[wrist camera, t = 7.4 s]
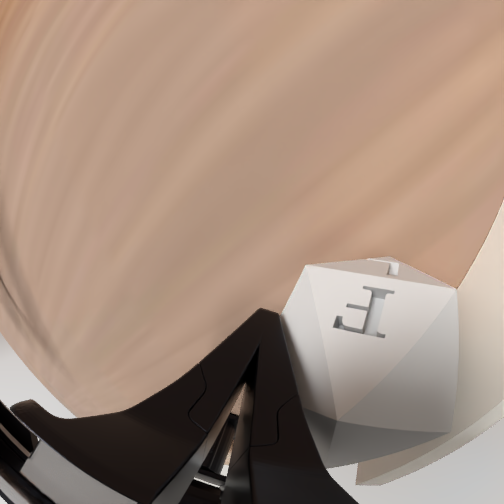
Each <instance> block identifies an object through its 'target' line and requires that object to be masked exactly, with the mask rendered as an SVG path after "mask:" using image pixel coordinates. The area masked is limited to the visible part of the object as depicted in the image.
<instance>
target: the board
mask: <svg viewBox="0 0 504 504" xmlns="http://www.w3.org/2000/svg"><path fill="white" fill-rule="evenodd" d="M457 301H458V319H459V362H458V379H457V391H456V400H455V408H454V415H453V421H452V427H451V432H450V433H448V434H445V435H443V436H441V437H438V438H436V439H433V440H431V441H428V442H426V443H423V444H420V445H418V446H415V447H412V448H409V449H406V450H403V451H400V452H397V453H393V454H390V455H387V456H383V457H379V458H376V459H372V460H368V461H363V462H359V463H358V469H357V478H356V485H382V484H385V483H388V482H391V481H393V480H395V479H398V478H401V477H403V476H405V475H408V474H410V473H412V472H414V471H417V470H419V469H421V468H423V467H425V466H427V465H429V464H431V463H433V462H435V461H437V460H439V459H441V458H443V457H445V456H446V455H448V454H450V453H452V452H453V451H455V450H457V449H459V448H460V447H462V446H464V445H465V444H466V443H468V442H470V441H471V440H473V439H474V438H476V437H477V436H479V435H480V434H482V433H483V432H485V431H486V430H487V429H489V428H490V427H492V426H493V425H494V424H496V423H497V422H498V421H500V420H501V419H502V418H504V200H503V202H502V205H501V207H500V209H499V212H498V214H497V216H496V219H495V221H494V223H493V225H492V227H491V229H490V232H489V234H488V236H487V238H486V240H485V242H484V244H483V246H482V248H481V249H480V251H479V253H478V255H477V257H476V259H475V260H474V262H473V264H472V266H471V267H470V269H469V271H468V273H467V274H466V276H465V278H464V279H463V281H462V282H461V284H460V286H459V287H458V289H457Z"/></svg>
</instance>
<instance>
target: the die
mask: <svg viewBox="0 0 504 504" xmlns="http://www.w3.org/2000/svg"><path fill="white" fill-rule="evenodd" d="M280 320H281V323H282V327H283V331H284V335H285V339H286V343H287V347H288V351H289V355H290V359H291V363H292V367H293V371H294V376H295V380H296V384H297V388H298V392H299V393H298V394H299V395H300V400H301V404H302V407H303V411H304V414H305V418H306V421H307V423H308V426H309V429H310V432H311V434H312V437H313V439H314V442H315V444H316V447H317V449H318V452H319V454H320V457H321V459H322V462H323V464H324V466H325V468H326V469H327V468H333V467H339V466H344V465H349V464H354V463H359V462H363V461H368V460H372V459H376V458H379V457H383V456H387V455H390V454H393V453H397V452H400V451H403V450H406V449H409V448H412V447H415V446H418V445H420V444H423V443H426V442H428V441H431V440H433V439H436V438H438V437H441V436H443V435H445V434H448V433H450V432H451V427H452V421H453V415H454V408H455V400H456V391H457V379H458V362H459V319H458V301H457V290H456V289H455V288H454V287H452V286H450V285H448V284H446V283H444V282H442V281H440V280H438V279H436V278H434V277H432V276H430V275H428V274H426V273H424V272H421V271H419V270H417V269H415V268H413V267H411V266H409V265H407V264H405V263H403V262H401V261H398V260H396V259H394V258H392V257H390V256H388V257H379V258H370V259H360V260H350V261H340V262H330V263H319V264H309V265H305V267H304V270H303V272H302V274H301V276H300V278H299V280H298V282H297V284H296V286H295V288H294V290H293V292H292V294H291V296H290V298H289V300H288V302H287V304H286V306H285V308H284V310H283V312H282V314H281V315H280Z"/></svg>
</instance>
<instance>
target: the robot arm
mask: <svg viewBox="0 0 504 504" xmlns="http://www.w3.org/2000/svg"><path fill="white" fill-rule="evenodd" d="M245 382H246V384H245ZM244 384H245V389H244V394H243V399H242V404H241V409H240V414H239V417H238V416H235V415H232V414H230V412H231V410H232V408H233V406H234V404H235V402H236V400H237V398H238V396H239V394H240V392H241V390H242V388H243V386H244ZM298 393H299V392H298V388H297V384H296V380H295V376H294V371H293V367H292V363H291V359H290V355H289V351H288V347H287V343H286V339H285V335H284V331H283V327H282V323H281V320H280V316H279V314H278V313H276V312H272V311H269V310H266V309H263V308H259V309H258V310H257V311H256V312H255V313H254V314H253V315H251V316H250V317H249V318H248V319H247V320H246V321H245V322H244V323H243V324H242V325H241V326H239V327H238V328H237V329H236V330H235V331H234V332H233V333H232V334H231V335H230V336H228V337H227V338H226V339H225V340H224V341H223V342H222V343H221V344H219V345H218V346H217V347H216V348H215V349H214V350H213V351H212V352H210V353H209V354H208V355H207V356H206V357H205V358H204V359H202V360H201V361H200V362H199V364H196V365H195V366H194V367H193V368H192V369H191V370H189V371H188V372H187V373H186V374H184V375H183V376H182V377H180V378H179V379H178V380H176V381H175V382H173V383H172V384H170V385H169V386H167V387H166V388H164V389H162V390H161V391H159V392H157V393H156V394H154V395H152V396H151V397H149V398H147V399H146V400H144V401H142V402H140V403H139V404H137V405H135V406H133V407H131V408H129V409H126V410H124V411H120V412H116V413H110V414H104V415H97V416H90V417H82V418H74V419H64V418H59V417H55V416H53V415H52V414H50V413H49V412H47V411H46V410H45V409H44V408H43V407H41V406H40V405H39V404H38V403H36V402H35V401H34V400H31V399H30V400H26V401H22V402H19V403H16V404H14V405H13V406H11V407H10V410H11V411H12V412H13V413H12V412H11V411H10V410H9V409H8V408H7V407H6V406H5V405H4V404H3V402H2V401H1V400H0V496H1V497H2V498H3V499H4V500H5V501H6V502H7V503H8V504H359V503H358V502H356V501H355V500H354V499H353V498H352V497H351V496H350V495H349V494H348V493H347V492H346V491H345V490H344V489H343V488H342V487H341V486H340V485H339V484H337V482H336V481H335V480H334V479H333V478H332V477H331V476H330V475H329V473H328V471H327V470H326V468H325V466H324V464H323V462H322V459H321V457H320V454H319V452H318V449H317V447H316V444H315V442H314V439H313V437H312V434H311V432H310V429H309V426H308V423H307V421H306V418H305V414H304V411H303V407H302V404H301V400H300V395H299V394H298ZM29 429H30V430H31V431H32V432H31V431H30V430H29ZM37 437H38V438H40V440H39V441H38V439H37ZM233 440H234V444H233V449H232V454H231V459H230V463H229V468H228V473H227V477H226V476H223V475H220V473H221V471H222V468H223V465H224V463H225V460H226V457H227V455H228V452H229V449H230V446H231V443H232V441H233ZM194 477H195V478H198V479H201V480H204V481H206V482H209V483H212V484H215V485H218V486H220V487H219V488H218V487H215V486H212V485H208V484H206V483H203V482H200V481H197V480H195V479H194Z"/></svg>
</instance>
